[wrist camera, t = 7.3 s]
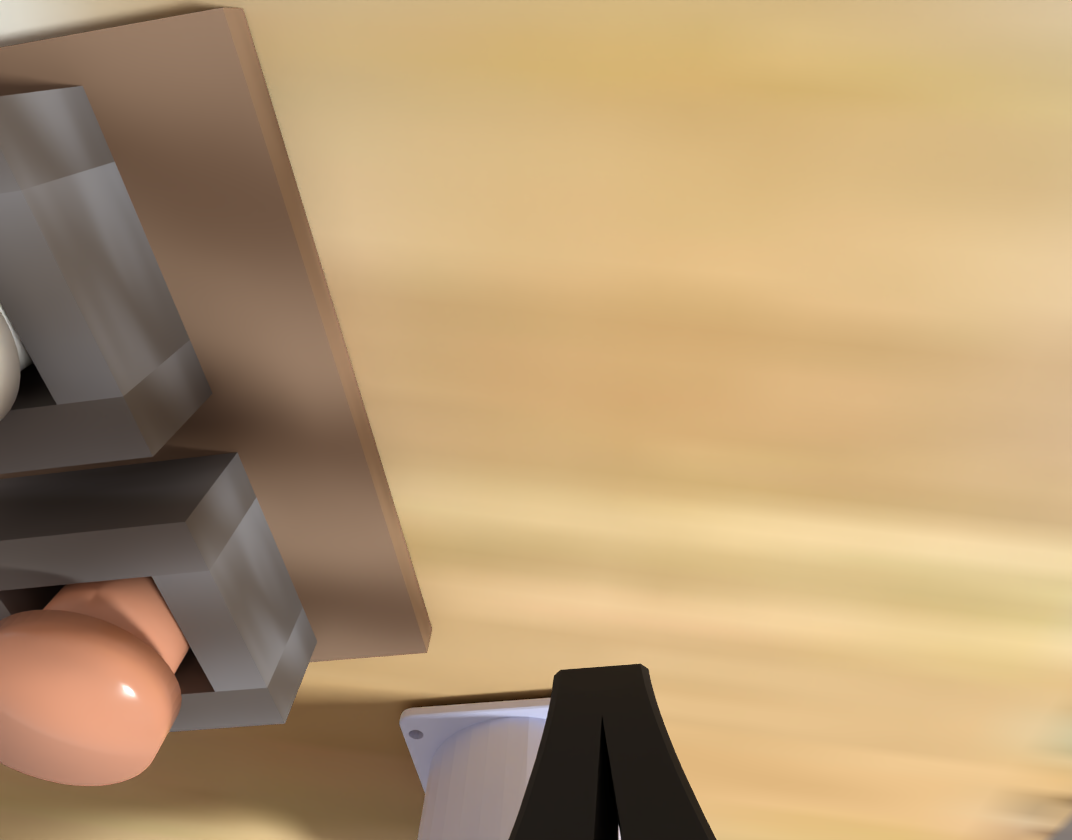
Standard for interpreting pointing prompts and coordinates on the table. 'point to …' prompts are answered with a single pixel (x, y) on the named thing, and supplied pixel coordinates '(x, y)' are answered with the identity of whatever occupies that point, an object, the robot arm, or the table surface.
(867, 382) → the table surface
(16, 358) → the pale plunger
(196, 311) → the board
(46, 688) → the rust plunger
